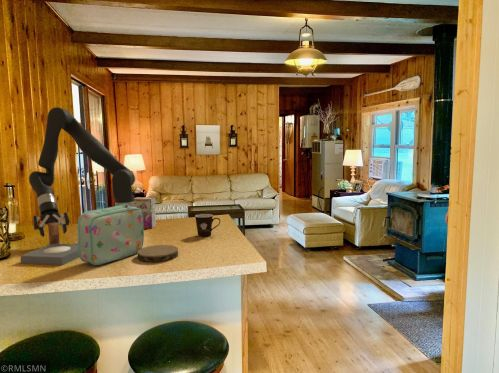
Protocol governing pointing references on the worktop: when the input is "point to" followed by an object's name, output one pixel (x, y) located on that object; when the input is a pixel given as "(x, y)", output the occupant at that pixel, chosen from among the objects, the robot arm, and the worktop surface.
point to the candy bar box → (147, 210)
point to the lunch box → (110, 234)
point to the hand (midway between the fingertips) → (54, 234)
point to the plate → (52, 254)
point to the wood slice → (157, 253)
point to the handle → (53, 233)
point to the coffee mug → (205, 224)
